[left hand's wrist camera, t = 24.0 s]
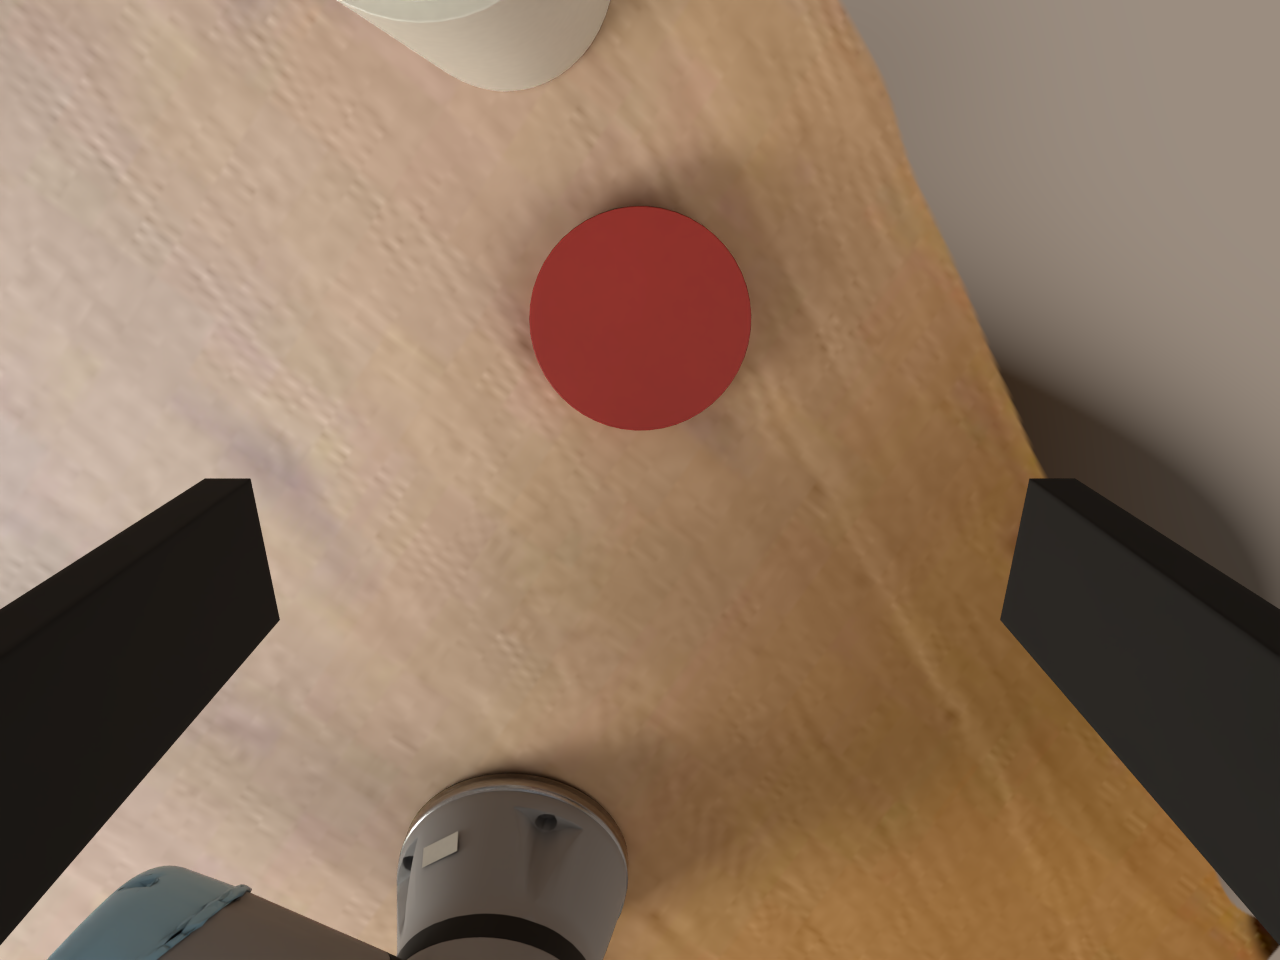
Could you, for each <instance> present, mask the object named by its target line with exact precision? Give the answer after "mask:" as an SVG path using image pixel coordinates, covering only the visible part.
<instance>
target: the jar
mask: <svg viewBox="0 0 1280 960" xmlns="http://www.w3.org/2000/svg"><path fill="white" fill-rule="evenodd" d="M337 1H338V2H340V3H341V4H343V5H344V6H346V7H347V8H349V9H351V10H352V11H354V12H355V13H357V14H358V15H360V16H361V17H363V18H364V19H366V20H367V21H369V22H370V23H372V24H373V25H375V26H376V27H378V28H379V29H381V30H382V31H384V32H385V33H387V34H388V35H390V36H391V37H393V38H394V39H396V40H397V41H399V42H401V43H402V44H404V45H405V46H407V47H408V48H410V49H411V50H413V51H414V52H416V53H417V54H419V55H420V56H422V57H423V58H425V59H426V60H428V61H429V62H431V63H432V64H434V65H435V66H437V67H438V68H440V69H441V70H443V71H444V72H446V73H448V74H449V75H451V76H453V77H455V78H456V79H458V80H460V81H462V82H465V83H467V84H470V85H472V86H475V87H479V88H483V89H487V90H493V91H503V92H504V91H520V90H525V89H530V88H534V87H536V86H539V85H542V84H545V83H547V82H549V81H551V80H552V79H554V78H556V77H558V76H559V75H561V74H562V73H564V72H565V71H566V70H568V69H569V68H570V67H571V66H572V65H573V64H574V63H575V62H576V61H577V60H579V59H580V58H581V57H582V55H583V54H584V53H585V51H586V50H587V49H588V48H589V46H590V45H591V43H592V42H593V40H594V38H595V37H596V35H597V33H598V32H599V30H600V27H601V25H602V23H603V21H604V18H605V16H606V13H607V10H608V6H609V3H610V0H337Z"/></svg>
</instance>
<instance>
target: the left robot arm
mask: <svg viewBox="0 0 1280 960" xmlns="http://www.w3.org/2000/svg"><path fill="white" fill-rule="evenodd" d="M279 620H280V619H279V614H278V609H277V604H276V599H275V595H274V590H273V585H272V580H271V575H270V570H269V566H268V561H267V556H266V551H265V546H264V542H263V537H262V532H261V527H260V522H259V517H258V513H257V508H256V503H255V498H254V493H253V488H252V484H251V479H204V480H202V481H200V482H199V483H197V484H196V485H194V486H193V487H191V488H189V489H188V490H186V491H185V492H183V493H182V494H180V495H179V496H177V497H175V498H174V499H172V500H171V501H169V502H168V503H166V504H164V505H163V506H161V507H160V508H158V509H157V510H155V511H154V512H152V513H150V514H149V515H147V516H146V517H144V518H143V519H141V520H139V521H138V522H136V523H135V524H133V525H132V526H130V527H128V528H127V529H125V530H124V531H122V532H121V533H119V534H118V535H116V536H114V537H113V538H111V539H110V540H108V541H107V542H105V543H103V544H102V545H100V546H99V547H97V548H96V549H94V550H92V551H91V552H89V553H88V554H86V555H85V556H83V557H82V558H80V559H78V560H77V561H75V562H74V563H72V564H71V565H69V566H67V567H66V568H64V569H63V570H61V571H60V572H58V573H57V574H55V575H53V576H52V577H50V578H49V579H47V580H46V581H44V582H42V583H41V584H39V585H38V586H36V587H35V588H33V589H31V590H30V591H28V592H27V593H25V594H24V595H22V596H21V597H19V598H17V599H16V600H14V601H13V602H11V603H10V604H8V605H6V606H5V607H3V608H2V609H0V945H1V944H2V943H3V941H4V940H5V939H6V938H7V937H8V936H9V935H10V933H11V932H12V931H13V930H14V929H15V928H16V926H17V925H18V924H19V923H20V922H21V921H22V919H23V918H24V917H25V916H26V915H27V914H28V912H29V911H30V910H31V909H32V908H33V907H34V905H35V904H36V903H37V902H38V901H39V900H40V898H41V897H42V896H43V895H44V894H45V893H46V891H47V890H48V889H49V888H50V887H51V886H52V884H53V883H54V882H55V881H56V880H57V879H58V877H59V876H60V875H61V874H62V873H63V872H64V870H65V869H66V868H67V867H68V866H69V865H70V863H71V862H72V861H73V860H74V859H75V858H76V857H77V855H78V854H79V853H80V852H81V851H82V850H83V848H84V847H85V846H86V845H87V844H88V843H89V841H90V840H91V839H92V838H93V837H94V836H95V834H96V833H97V832H98V831H99V830H100V829H101V827H102V826H103V825H104V824H105V823H106V822H107V820H108V819H109V818H110V817H111V816H112V815H113V813H114V812H115V811H116V810H117V809H118V808H119V806H120V805H121V804H122V803H123V802H124V801H125V799H126V798H127V797H128V796H129V795H130V794H131V792H132V791H133V790H134V789H135V788H136V787H137V785H138V784H139V783H140V782H141V781H142V780H143V779H144V777H145V776H146V775H147V774H148V773H149V772H150V770H151V769H152V768H153V767H154V766H155V765H156V763H157V762H158V761H159V760H160V759H161V758H162V756H163V755H164V754H165V753H166V752H167V751H168V749H169V748H170V747H171V746H172V745H173V744H174V742H175V741H176V740H177V739H178V738H179V737H180V735H181V734H182V733H183V732H184V731H185V730H186V728H187V727H188V726H189V725H190V724H191V723H192V721H193V720H194V719H195V718H196V717H197V716H198V714H199V713H200V712H201V711H202V710H203V709H204V707H205V706H206V705H207V704H208V703H209V702H210V701H211V699H212V698H213V697H214V696H215V695H216V694H217V692H218V691H219V690H220V689H221V688H222V687H223V685H224V684H225V683H226V682H227V681H228V680H229V678H230V677H231V676H232V675H233V674H234V673H235V671H236V670H237V669H238V668H239V667H240V666H241V664H242V663H243V662H244V661H245V660H246V659H247V657H248V656H249V655H250V654H251V653H252V652H253V650H254V649H255V648H256V647H257V646H258V645H259V643H260V642H261V641H262V640H263V639H264V638H265V636H266V635H267V634H268V633H269V632H270V631H271V630H272V628H273V627H274V626H275V625H276V624H277V623H278V621H279ZM1000 620H1001V621H1002V623H1003V624H1004V625H1005V626H1006V627H1007V628H1008V630H1009V631H1010V632H1011V633H1012V634H1013V635H1014V636H1015V638H1016V639H1017V640H1018V641H1019V642H1020V643H1021V645H1022V646H1023V647H1024V648H1025V649H1026V650H1027V652H1028V653H1029V654H1030V655H1031V656H1032V657H1033V659H1034V660H1035V661H1036V662H1037V663H1038V664H1039V666H1040V667H1041V668H1042V669H1043V670H1044V671H1045V673H1046V674H1047V675H1048V676H1049V677H1050V678H1051V680H1052V681H1053V682H1054V683H1055V684H1056V685H1057V687H1058V688H1059V689H1060V690H1061V691H1062V692H1063V694H1064V695H1065V696H1066V697H1067V698H1068V699H1069V701H1070V702H1071V703H1072V704H1073V705H1074V706H1075V708H1076V709H1077V710H1078V711H1079V712H1080V713H1081V714H1082V716H1083V717H1084V718H1085V719H1086V720H1087V721H1088V723H1089V724H1090V725H1091V726H1092V727H1093V728H1094V730H1095V731H1096V732H1097V733H1098V734H1099V735H1100V737H1101V738H1102V739H1103V740H1104V741H1105V742H1106V744H1107V745H1108V746H1109V747H1110V748H1111V749H1112V751H1113V752H1114V753H1115V754H1116V755H1117V756H1118V758H1119V759H1120V760H1121V761H1122V762H1123V763H1124V765H1125V766H1126V767H1127V768H1128V769H1129V770H1130V772H1131V773H1132V774H1133V775H1134V776H1135V777H1136V779H1137V780H1138V781H1139V782H1140V783H1141V784H1142V785H1143V787H1144V788H1145V789H1146V790H1147V791H1148V792H1149V794H1150V795H1151V796H1152V797H1153V798H1154V799H1155V801H1156V802H1157V803H1158V804H1159V805H1160V806H1161V808H1162V809H1163V810H1164V811H1165V812H1166V813H1167V815H1168V816H1169V817H1170V818H1171V819H1172V820H1173V822H1174V823H1175V824H1176V825H1177V826H1178V827H1179V829H1180V830H1181V831H1182V832H1183V833H1184V834H1185V836H1186V837H1187V838H1188V839H1189V840H1190V841H1191V843H1192V844H1193V845H1194V846H1195V847H1196V848H1197V850H1198V851H1199V852H1200V853H1201V854H1202V855H1203V857H1204V858H1205V859H1206V860H1207V861H1208V862H1209V863H1210V865H1211V866H1212V867H1213V868H1214V869H1215V870H1216V872H1217V873H1218V874H1219V875H1220V876H1221V877H1222V879H1223V880H1224V881H1225V882H1226V883H1227V884H1228V886H1229V887H1230V888H1231V889H1232V890H1233V891H1234V893H1235V894H1236V895H1237V896H1238V897H1239V898H1240V900H1241V901H1242V902H1243V903H1244V904H1245V905H1246V907H1247V908H1248V909H1249V910H1250V911H1251V912H1252V914H1253V915H1254V916H1255V917H1256V918H1257V919H1258V921H1259V922H1260V923H1261V924H1262V925H1263V926H1264V928H1265V929H1266V930H1267V931H1268V932H1269V933H1270V935H1271V936H1272V937H1273V938H1274V939H1275V940H1276V941H1277V943H1278V944H1279V945H1280V609H1278V608H1277V607H1275V606H1273V605H1272V604H1270V603H1269V602H1267V601H1266V600H1264V599H1263V598H1261V597H1259V596H1258V595H1256V594H1255V593H1253V592H1252V591H1250V590H1249V589H1247V588H1245V587H1244V586H1242V585H1241V584H1239V583H1238V582H1236V581H1234V580H1233V579H1231V578H1230V577H1228V576H1227V575H1225V574H1223V573H1222V572H1220V571H1219V570H1217V569H1216V568H1214V567H1213V566H1211V565H1209V564H1208V563H1206V562H1205V561H1203V560H1202V559H1200V558H1198V557H1197V556H1195V555H1194V554H1192V553H1191V552H1189V551H1188V550H1186V549H1184V548H1183V547H1181V546H1180V545H1178V544H1177V543H1175V542H1173V541H1172V540H1170V539H1169V538H1167V537H1166V536H1164V535H1162V534H1161V533H1159V532H1158V531H1156V530H1155V529H1153V528H1152V527H1150V526H1148V525H1147V524H1145V523H1144V522H1142V521H1141V520H1139V519H1137V518H1136V517H1134V516H1133V515H1131V514H1130V513H1128V512H1126V511H1125V510H1123V509H1122V508H1120V507H1119V506H1117V505H1116V504H1114V503H1112V502H1111V501H1109V500H1108V499H1106V498H1105V497H1103V496H1101V495H1100V494H1098V493H1097V492H1095V491H1094V490H1092V489H1091V488H1089V487H1087V486H1086V485H1084V484H1083V483H1081V482H1080V481H1078V480H1076V479H1029V484H1028V488H1027V493H1026V498H1025V503H1024V508H1023V513H1022V517H1021V522H1020V527H1019V532H1018V537H1017V542H1016V546H1015V551H1014V556H1013V561H1012V566H1011V570H1010V575H1009V580H1008V585H1007V590H1006V595H1005V599H1004V604H1003V609H1002V614H1001V619H1000ZM627 884H628V853H627V848H626V844H625V841H624V838H623V835H622V833H621V831H620V829H619V828H618V826H617V824H616V823H615V821H614V820H613V819H612V817H611V816H610V815H609V814H608V813H607V812H606V811H605V810H604V809H603V807H601V806H600V805H599V804H598V803H597V802H596V801H594V800H593V799H591V798H590V797H589V796H587V795H586V794H584V793H582V792H580V791H579V790H577V789H575V788H573V787H571V786H568V785H566V784H564V783H561V782H558V781H555V780H552V779H548V778H545V777H540V776H535V775H527V774H514V773H507V774H492V775H485V776H480V777H475V778H472V779H468V780H465V781H462V782H460V783H457V784H455V785H453V786H451V787H449V788H447V789H445V790H443V791H442V792H440V793H438V794H437V795H436V796H434V797H433V798H432V799H431V800H429V801H428V802H427V803H426V804H425V805H424V806H423V807H422V809H421V810H420V811H419V812H418V813H417V815H416V817H415V818H414V820H413V821H412V823H411V825H410V828H409V830H408V833H407V836H406V838H405V841H404V844H403V847H402V850H401V853H400V858H399V865H398V870H397V956H394V955H392V954H389V953H388V952H385V951H383V950H381V949H378V948H376V947H374V946H372V945H369V944H367V943H365V942H362V941H360V940H358V939H355V938H353V937H351V936H349V935H346V934H344V933H342V932H339V931H337V930H335V929H332V928H330V927H328V926H326V925H323V924H321V923H319V922H316V921H314V920H312V919H309V918H307V917H305V916H303V915H300V914H298V913H296V912H293V911H291V910H289V909H286V908H284V907H282V906H279V905H277V904H275V903H273V902H270V901H268V900H266V899H263V898H261V897H259V896H256V895H254V894H252V893H250V892H251V890H252V889H251V888H250V887H248V886H247V885H238V886H236V887H235V886H233V885H230V884H227V883H224V882H221V881H219V880H216V879H213V878H210V877H208V876H205V875H202V874H199V873H197V872H194V871H191V870H188V869H186V868H182V867H177V866H162V867H157V868H153V869H150V870H148V871H146V872H143V873H141V874H139V875H137V876H136V877H134V878H132V879H131V880H129V881H128V882H126V883H125V884H124V885H122V886H121V887H120V888H119V889H117V890H116V891H115V892H114V893H113V894H112V895H110V896H109V897H108V898H107V899H106V900H105V901H104V902H103V903H102V904H101V905H100V906H99V907H98V908H97V909H95V910H94V911H93V912H92V913H91V914H90V915H89V916H88V917H87V918H86V919H85V920H84V921H83V922H82V923H81V924H80V925H79V926H78V927H77V928H76V929H75V930H74V932H73V933H72V934H71V935H70V936H69V937H68V938H67V939H66V940H65V941H64V942H63V943H62V944H61V945H60V946H59V947H58V948H57V949H56V950H55V951H54V953H53V954H52V955H51V956H50V957H49V958H48V959H47V960H603V958H604V955H605V953H606V950H607V947H608V944H609V942H610V939H611V936H612V933H613V931H614V928H615V925H616V922H617V920H618V918H619V916H620V914H621V911H622V908H623V905H624V901H625V896H626V891H627Z"/></svg>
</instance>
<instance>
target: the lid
mask: <svg viewBox="0 0 1280 960" xmlns="http://www.w3.org/2000/svg"><path fill="white" fill-rule="evenodd" d="M529 321H530V334H531V339H532V344H533V349H534V351H535V354H536V357H537V360H538V363H539V365H540V367H541V369H542V371H543V373H544V375H545V376H546V378H547V379H548V381H549V382H550V384H551V385H552V387H553V388H554V389H555V390H556V392H557V393H558V394H559V395H560V396H561V397H562V398H563V399H564V400H565V401H566V402H567V403H568V404H569V405H571V406H572V407H573V408H575V409H576V410H577V411H579V412H580V413H582V414H583V415H585V416H587V417H589V418H591V419H593V420H595V421H597V422H600V423H602V424H605V425H608V426H611V427H616V428H620V429H627V430H654V429H661V428H665V427H669V426H672V425H676V424H678V423H681V422H683V421H686V420H688V419H690V418H692V417H693V416H695V415H697V414H699V413H700V412H702V411H703V410H705V409H706V408H707V407H709V406H710V405H711V404H712V403H713V402H714V401H715V400H716V399H718V398H719V397H720V396H721V395H722V394H723V392H724V391H725V390H726V389H727V387H728V386H729V385H730V383H731V382H732V380H733V379H734V377H735V375H736V374H737V372H738V370H739V368H740V366H741V364H742V361H743V359H744V356H745V353H746V350H747V346H748V342H749V336H750V330H751V308H750V299H749V295H748V290H747V286H746V283H745V281H744V278H743V275H742V273H741V270H740V269H739V267H738V265H737V263H736V261H735V259H734V258H733V256H732V255H731V253H730V252H729V251H728V249H727V248H726V247H725V245H724V244H723V243H722V242H721V241H720V240H719V239H718V238H717V237H716V236H715V235H714V234H713V233H711V232H710V231H709V230H708V229H706V228H705V227H704V226H703V225H701V224H699V223H698V222H696V221H694V220H693V219H691V218H689V217H686V216H684V215H682V214H679V213H677V212H674V211H671V210H667V209H663V208H658V207H650V206H629V207H623V208H617V209H613V210H610V211H607V212H604V213H601V214H599V215H596V216H594V217H592V218H590V219H588V220H586V221H584V222H583V223H581V224H580V225H578V226H577V227H575V228H574V229H573V230H572V231H570V232H569V233H568V234H567V235H566V236H565V237H563V238H562V239H561V241H560V242H559V243H558V244H557V245H556V246H555V247H554V249H553V250H552V251H551V253H550V254H549V256H548V257H547V259H546V260H545V262H544V264H543V266H542V268H541V270H540V272H539V274H538V276H537V279H536V282H535V285H534V288H533V292H532V298H531V303H530V317H529Z"/></svg>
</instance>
